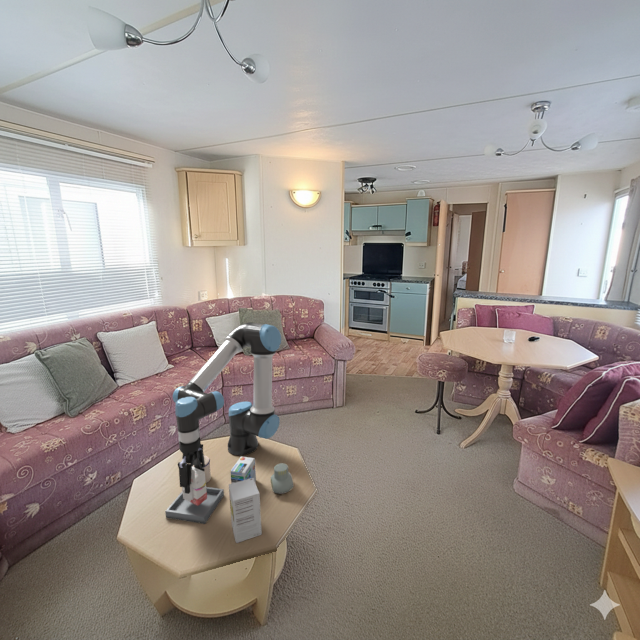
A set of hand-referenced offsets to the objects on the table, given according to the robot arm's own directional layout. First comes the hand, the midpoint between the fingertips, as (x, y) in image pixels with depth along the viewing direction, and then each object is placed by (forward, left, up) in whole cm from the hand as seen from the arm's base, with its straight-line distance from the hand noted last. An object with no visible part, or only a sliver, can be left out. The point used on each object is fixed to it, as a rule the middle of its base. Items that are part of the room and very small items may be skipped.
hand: (194, 492), depth 132 cm
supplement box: (+7, +24, -6) cm, 26 cm away
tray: (0, 0, -6) cm, 6 cm away
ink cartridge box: (0, 0, -3) cm, 3 cm away
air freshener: (-16, +30, -6) cm, 35 cm away
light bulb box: (-14, +14, -6) cm, 21 cm away
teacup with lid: (-14, -8, -6) cm, 17 cm away
